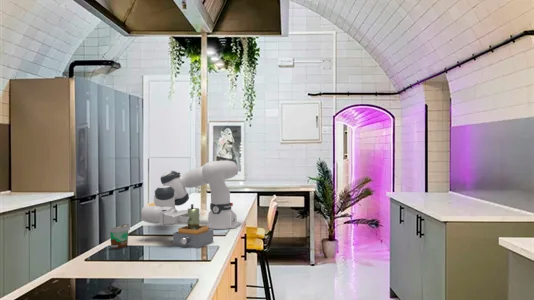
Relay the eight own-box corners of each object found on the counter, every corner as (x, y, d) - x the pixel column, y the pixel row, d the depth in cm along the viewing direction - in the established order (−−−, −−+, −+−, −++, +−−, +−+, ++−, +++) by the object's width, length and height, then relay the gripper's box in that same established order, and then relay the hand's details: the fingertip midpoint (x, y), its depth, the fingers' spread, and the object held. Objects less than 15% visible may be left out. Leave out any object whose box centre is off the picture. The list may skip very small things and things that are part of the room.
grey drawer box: (188, 239, 229) (188, 224, 229) (213, 241, 224) (213, 225, 224) (169, 246, 213) (169, 229, 213) (195, 249, 208) (195, 232, 208)
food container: (121, 250, 207) (121, 228, 206) (109, 249, 208) (109, 227, 208) (134, 244, 219) (134, 223, 218) (123, 243, 220) (123, 223, 220)
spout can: (191, 230, 223) (191, 203, 223) (201, 230, 221) (201, 203, 221) (185, 232, 218) (185, 204, 218) (195, 232, 216) (195, 205, 216)
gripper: (181, 218, 234) (204, 220, 229) (157, 225, 215) (182, 227, 210) (181, 206, 234) (204, 208, 229) (157, 212, 215) (182, 213, 210)
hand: (194, 217), depth 219 cm, fingers open, 8 cm apart
